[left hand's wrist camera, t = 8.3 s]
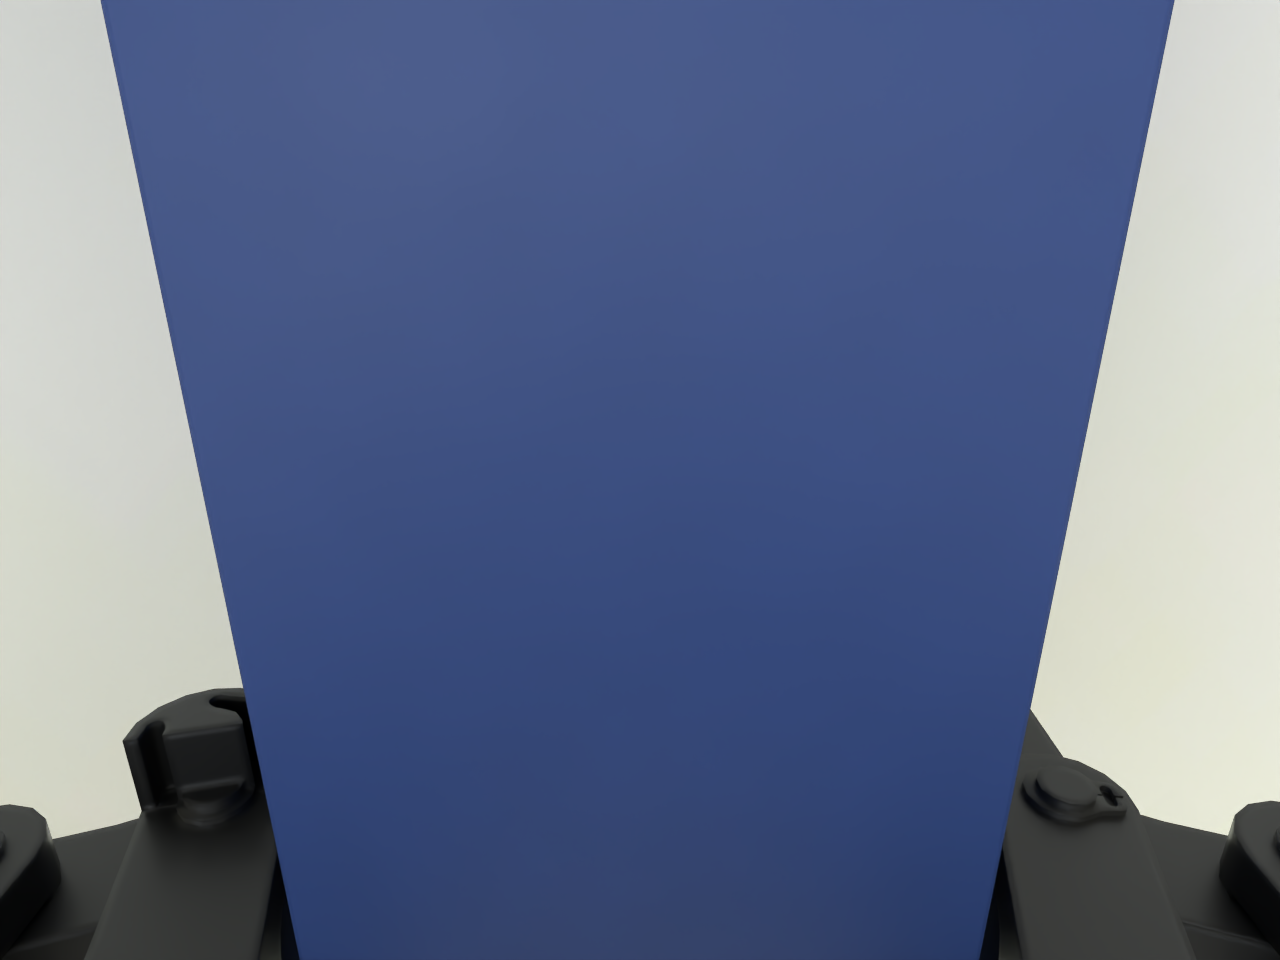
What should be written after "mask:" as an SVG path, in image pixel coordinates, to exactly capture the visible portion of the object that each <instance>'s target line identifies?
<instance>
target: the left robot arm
mask: <svg viewBox="0 0 1280 960" xmlns="http://www.w3.org/2000/svg"><path fill="white" fill-rule="evenodd" d="M123 744H124V748H125V752H126V755H127V759H128V762H129V766H130V770H131V773H132V777H133V781H134V784H135V788H136V792H137V795H138V799H139V803H140V806H141V810H142V812H141V815H140V817H139V818H138V819H135V820H132V821H128V822H125V823H121V824H118V825H114V826H110V827H105V828H101V829H96V830H92V831H87V832H83V833H79V834H74V835H70V836H65V837H61V838H56V839H52V837H51V834H50V831H49V828H48V825H47V822H46V819H45V818H44V817H43V816H42V815H40V814H39V813H38V812H37V811H36V810H34V809H33V808H29V807H23V806H16V805H10V804H9V805H2V806H0V960H300V958H299V954H298V949H297V944H296V939H295V934H294V929H293V925H292V920H291V915H290V910H289V905H288V901H287V896H286V891H285V886H284V881H283V876H282V872H281V867H280V862H279V857H278V852H277V848H276V843H275V838H274V833H273V828H272V823H271V819H270V814H269V809H268V804H267V799H266V795H265V790H264V785H263V780H262V775H261V770H260V766H259V761H258V756H257V751H256V746H255V742H254V737H253V732H252V727H251V722H250V717H249V713H248V708H247V703H246V698H245V693H244V689H242V688H225V689H212V690H207V691H203V692H199V693H194V694H190V695H186V696H184V697H181V698H179V699H177V700H174V701H172V702H170V703H168V704H165V705H163V706H161V707H158V708H157V709H156V710H154V711H153V712H151V713H150V714H149V715H147V716H146V717H144V718H143V719H141V720H140V721H139V722H137V723H136V724H135V725H134V727H133V728H132V729H131V731H130V732H129V733H128V734H127V736H126V737H125V738H124V740H123ZM979 960H1280V802H1276V801H1266V802H1260V803H1253V804H1248V805H1246V806H1245V807H1244V808H1243V809H1242V810H1240V811H1239V812H1238V813H1237V814H1236V815H1235V816H1234V819H1233V822H1232V826H1231V829H1230V832H1229V835H1228V836H1226V835H1222V834H1217V833H1213V832H1208V831H1204V830H1199V829H1195V828H1190V827H1186V826H1181V825H1177V824H1173V823H1168V822H1164V821H1160V820H1157V819H1153V818H1150V817H1147V816H1143V815H1140V813H1139V810H1138V809H1137V807H1136V806H1135V804H1134V803H1133V801H1132V800H1131V798H1130V797H1129V795H1128V794H1127V792H1126V791H1125V790H1124V789H1122V788H1121V787H1120V786H1119V785H1117V784H1116V783H1115V782H1114V781H1112V780H1111V779H1110V778H1109V777H1107V776H1106V775H1105V774H1103V773H1101V772H1099V771H1097V770H1095V769H1093V768H1091V767H1089V766H1087V765H1085V764H1083V763H1081V762H1079V761H1075V760H1072V759H1068V758H1064V757H1063V756H1062V755H1061V753H1060V752H1059V750H1058V749H1057V747H1056V746H1055V744H1054V743H1053V742H1052V740H1051V739H1050V737H1049V736H1048V734H1047V733H1046V731H1045V730H1044V728H1043V727H1042V725H1041V724H1040V723H1039V721H1038V720H1037V718H1036V717H1035V715H1034V714H1033V712H1032V711H1031V709H1030V712H1029V717H1028V722H1027V727H1026V732H1025V737H1024V742H1023V747H1022V751H1021V756H1020V761H1019V766H1018V771H1017V776H1016V781H1015V786H1014V791H1013V796H1012V801H1011V806H1010V810H1009V815H1008V820H1007V825H1006V830H1005V835H1004V840H1003V845H1002V850H1001V855H1000V860H999V864H998V869H997V874H996V879H995V884H994V889H993V894H992V899H991V904H990V909H989V914H988V918H987V923H986V928H985V933H984V938H983V943H982V948H981V953H980V958H979Z"/></svg>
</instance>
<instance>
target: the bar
mask: <svg viewBox="0 0 1280 960" xmlns="http://www.w3.org/2000/svg"><path fill="white" fill-rule="evenodd" d="M101 4H102V9H103V14H104V19H105V24H106V28H107V33H108V38H109V43H110V48H111V52H112V57H113V62H114V67H115V72H116V77H117V81H118V86H119V91H120V96H121V101H122V105H123V110H124V115H125V120H126V125H127V130H128V134H129V139H130V144H131V149H132V154H133V158H134V163H135V168H136V173H137V178H138V183H139V187H140V192H141V197H142V202H143V207H144V211H145V216H146V221H147V226H148V231H149V236H150V240H151V245H152V250H153V255H154V260H155V264H156V269H157V274H158V279H159V284H160V289H161V293H162V298H163V303H164V308H165V313H166V317H167V322H168V327H169V332H170V337H171V342H172V346H173V351H174V356H175V361H176V366H177V370H178V375H179V380H180V385H181V390H182V395H183V399H184V404H185V409H186V414H187V419H188V423H189V428H190V433H191V438H192V443H193V448H194V452H195V457H196V462H197V467H198V472H199V476H200V481H201V486H202V491H203V496H204V501H205V505H206V510H207V515H208V520H209V525H210V529H211V534H212V539H213V544H214V549H215V554H216V558H217V563H218V568H219V573H220V578H221V582H222V587H223V592H224V597H225V602H226V607H227V611H228V616H229V621H230V626H231V631H232V636H233V640H234V645H235V650H236V655H237V660H238V664H239V669H240V674H241V679H242V684H243V689H244V693H245V698H246V703H247V708H248V713H249V717H250V722H251V727H252V732H253V737H254V742H255V746H256V751H257V756H258V761H259V766H260V770H261V775H262V780H263V785H264V790H265V795H266V799H267V804H268V809H269V814H270V819H271V823H272V828H273V833H274V838H275V843H276V848H277V852H278V857H279V862H280V867H281V872H282V876H283V881H284V886H285V891H286V896H287V901H288V905H289V910H290V915H291V920H292V925H293V929H294V934H295V939H296V944H297V949H298V954H299V958H300V960H979V958H980V953H981V948H982V943H983V938H984V933H985V928H986V923H987V918H988V914H989V909H990V904H991V899H992V894H993V889H994V884H995V879H996V874H997V869H998V864H999V860H1000V855H1001V850H1002V845H1003V840H1004V835H1005V830H1006V825H1007V820H1008V815H1009V810H1010V806H1011V801H1012V796H1013V791H1014V786H1015V781H1016V776H1017V771H1018V766H1019V761H1020V756H1021V751H1022V747H1023V742H1024V737H1025V732H1026V727H1027V722H1028V717H1029V712H1030V707H1031V702H1032V697H1033V693H1034V688H1035V683H1036V678H1037V673H1038V668H1039V663H1040V658H1041V653H1042V648H1043V643H1044V639H1045V634H1046V629H1047V624H1048V619H1049V614H1050V609H1051V604H1052V599H1053V594H1054V589H1055V585H1056V580H1057V575H1058V570H1059V565H1060V560H1061V555H1062V550H1063V545H1064V540H1065V535H1066V530H1067V526H1068V521H1069V516H1070V511H1071V506H1072V501H1073V496H1074V491H1075V486H1076V481H1077V476H1078V472H1079V467H1080V462H1081V457H1082V452H1083V447H1084V442H1085V437H1086V432H1087V427H1088V422H1089V418H1090V413H1091V408H1092V403H1093V398H1094V393H1095V388H1096V383H1097V378H1098V373H1099V368H1100V364H1101V359H1102V354H1103V349H1104V344H1105V339H1106V334H1107V329H1108V324H1109V319H1110V314H1111V309H1112V305H1113V300H1114V295H1115V290H1116V285H1117V280H1118V275H1119V270H1120V265H1121V260H1122V255H1123V251H1124V246H1125V241H1126V236H1127V231H1128V226H1129V221H1130V216H1131V211H1132V206H1133V201H1134V197H1135V192H1136V187H1137V182H1138V177H1139V172H1140V167H1141V162H1142V157H1143V152H1144V147H1145V143H1146V138H1147V133H1148V128H1149V123H1150V118H1151V113H1152V108H1153V103H1154V98H1155V93H1156V89H1157V84H1158V79H1159V74H1160V69H1161V64H1162V59H1163V54H1164V49H1165V44H1166V39H1167V34H1168V30H1169V25H1170V20H1171V15H1172V10H1173V5H1174V0H101Z"/></svg>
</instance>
